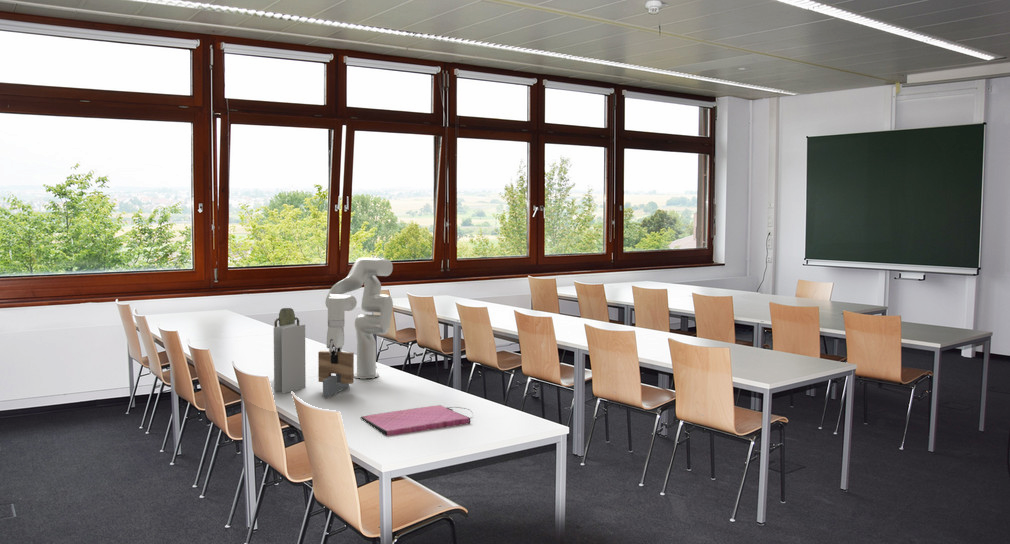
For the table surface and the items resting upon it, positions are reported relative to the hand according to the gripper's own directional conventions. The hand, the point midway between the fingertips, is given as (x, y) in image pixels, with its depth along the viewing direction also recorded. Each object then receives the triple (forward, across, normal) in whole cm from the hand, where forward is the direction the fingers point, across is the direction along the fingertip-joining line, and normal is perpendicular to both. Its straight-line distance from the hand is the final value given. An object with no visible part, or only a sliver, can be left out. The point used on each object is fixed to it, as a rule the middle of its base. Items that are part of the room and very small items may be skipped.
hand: (336, 362), depth 347 cm
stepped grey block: (+14, 0, 0) cm, 14 cm away
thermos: (+14, -19, -34) cm, 41 cm away
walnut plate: (+9, 0, 0) cm, 9 cm away
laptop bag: (+15, +36, +52) cm, 65 cm away
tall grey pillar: (+14, +2, -22) cm, 26 cm away
